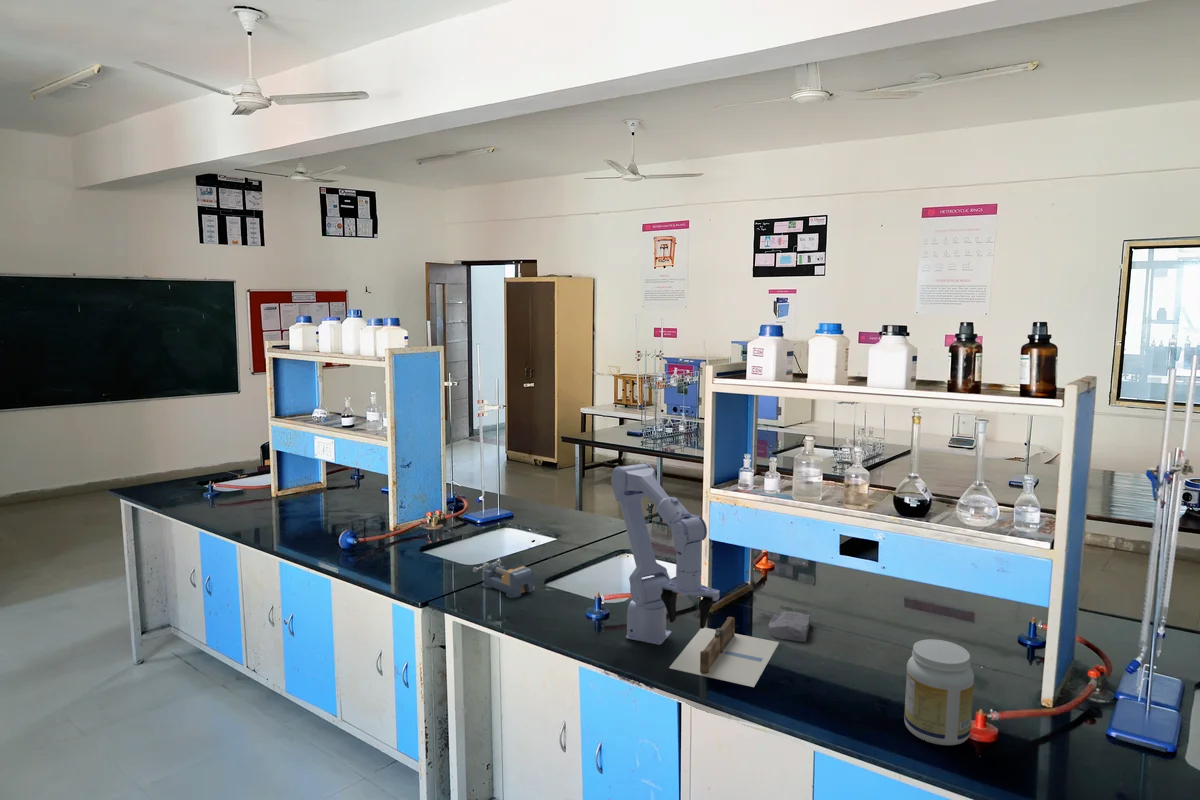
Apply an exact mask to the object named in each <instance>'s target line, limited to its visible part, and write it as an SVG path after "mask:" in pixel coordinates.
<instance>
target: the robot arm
mask: <svg viewBox="0 0 1200 800" xmlns="http://www.w3.org/2000/svg"><path fill="white" fill-rule="evenodd" d="M610 481H611V486H612V490H613V493H614V497H615V500H616V501H617V502H618V503H619V505H620V509H621V513H622V517H623V518H622V519H623V521H624V525H625V530H626V532H627V537H628V540H629V544H630V548H631V553H632V556H633V559H634V564H635V568H634V570H633V571H632V573H631V574H630V575H629V577H628V579H629V580H628V581H629V585H630V586H629V591H630V593H629V594H630V598H631V599H632V600H630V601H629V604H628V607H627V613H626V636H625V638H626V639H628V640H633V641H640V642H644V643H648V644H649V643H650V644H652V645H653V644H655V645H660V646H661V645H662V644H663V643H664V642H665V641H666V639H667V638H668V637H669V636H670V635H671V634H672V632H673V631H671V630H667V615H668V619H669V623H674V622H675V621H676V619H677V598H678V595H679V596H684V597H686V596H693V597H698V598H701V599H700V600H699V601H698V604H699V605H698V606H699V615H700V616H699V618H700V619H699V629H703V628H706V626H707V625H706V624H707V621H708V617H709V614H710V612H711V608H712V607H713V604H714V602H718V600H719V599H720V593H721V592H720V591H721V590H719V589H715V588H711V587H709V586H706V585H703V584H701V583H702V582H701V580H702V578H701V577H702V541H705V539H706V538H707V535H708V528H707V524H706V522H705V520H704V519H703V518H702V516H700V515H695V513H694V514H693V513H690V512H689V510H687V508H686V507H685V506H684V504H682V503H681V501H679V499H678V498H677V497H675V496H669V495H668V494H667V493H666V490H664V488H663V487H662V486H661V484H660V483H659V481H658V480H657V477H656V469H654V468H653V467H652V464H650V463H648V462H643V463H638V464H632V465H623V466H616V467H614V469H613V470H612V473H611V477H610ZM645 497H647V498H649V499H650V501H652V502H653V503H654V504H655V505H656V506H657V514H658V515H659V517H660V518H662V520H663V521H664V522H665V524H666V525H667V526H668V527H669V528H670V532H671V537H672V539H673V547H674V550H675V551H676V552H675V553H676V556H675V557H676V560H675V563H676V564H675V565H676V566H675V570H676V571H675V580H672V579H671V577H670V575H669V573H668V570H667V568H666V567H665V566H663V565H662V564H660V563H658V562H657V561H656V556H655V553H654V552H655V551H654V549H653V545H652V542H651V538H650V533H649V530H648V527H647V522H646V519H645V516H644V512H643V509H642V508H643V507H642V504H641V502H642V499H643V498H645ZM645 577H646V578H645Z"/></svg>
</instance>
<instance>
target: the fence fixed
mask: <svg viewBox="0 0 1200 800" xmlns="http://www.w3.org/2000/svg"><path fill="white" fill-rule="evenodd" d="M735 619H736V618H735V617H733V616H728V617H726V620H725V622H724V623H723V624H722V625H721V627H720V628H722V629H723V634H721V635H719V636H720V653H723V648H724V647H725V646H726V644H727V643H728V641H729V640H730V638H731V637H734V633H735V629H736V628H735V627H736V625H735V623H736V620H735ZM735 634H736V633H735Z"/></svg>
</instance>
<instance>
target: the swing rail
mask: <svg viewBox="0 0 1200 800" xmlns="http://www.w3.org/2000/svg"><path fill="white" fill-rule="evenodd" d="M715 630H716V633H715V636H714V637H713V639H712V640H711V641H710V643H709V644H708V645H707V647H706V648H705V649H704V651H701V652H700V672H701V673H708V672H709V668H710V667H711V665H712V664H713V662H714V661H715V660H716V658H717V657H718V655H719V654H720V636H719V635H721V634H723V629H722V628H721V627H718V628H715Z"/></svg>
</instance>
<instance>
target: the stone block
mask: <svg viewBox="0 0 1200 800" xmlns="http://www.w3.org/2000/svg"><path fill="white" fill-rule="evenodd" d="M810 625H811V615H810V614H807V615H806V614H803V613H801V612H797V611H780V612H776V613H774V614H773V616H772V617H771V619H770V621H769V623H768V632H769V634H770V637H773V638H774V639H775V638H776V639H779V640H780V639H781V640H788V641H789V640H791V641H796V642H802V643H803V642H804V643H805V642H806V641H807V637H808V634H809V633H808V632H809V630H810Z"/></svg>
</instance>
